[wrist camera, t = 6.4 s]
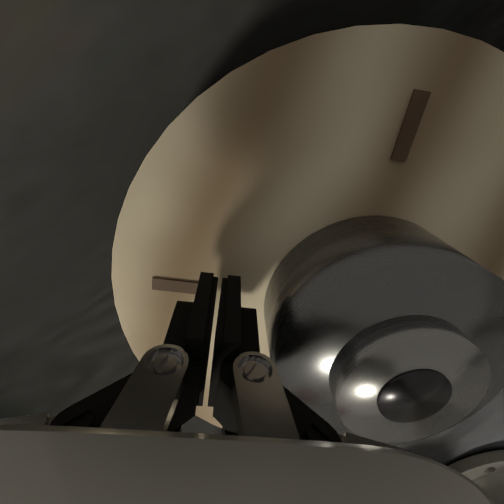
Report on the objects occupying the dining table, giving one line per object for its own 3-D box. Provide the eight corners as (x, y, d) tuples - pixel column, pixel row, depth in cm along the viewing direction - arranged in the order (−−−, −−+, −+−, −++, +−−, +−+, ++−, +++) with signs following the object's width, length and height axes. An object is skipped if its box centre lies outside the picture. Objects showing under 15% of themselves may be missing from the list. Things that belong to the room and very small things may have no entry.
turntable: (655, 91, 13) (728, 88, 11) (438, 427, 22) (457, 457, 20) (119, -19, 10) (92, -47, 9) (131, 404, 20) (119, 436, 18)
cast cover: (488, 233, 13) (628, 303, 8) (405, 380, 17) (469, 483, 12) (289, 198, 12) (323, 256, 7) (247, 363, 16) (252, 471, 11)
